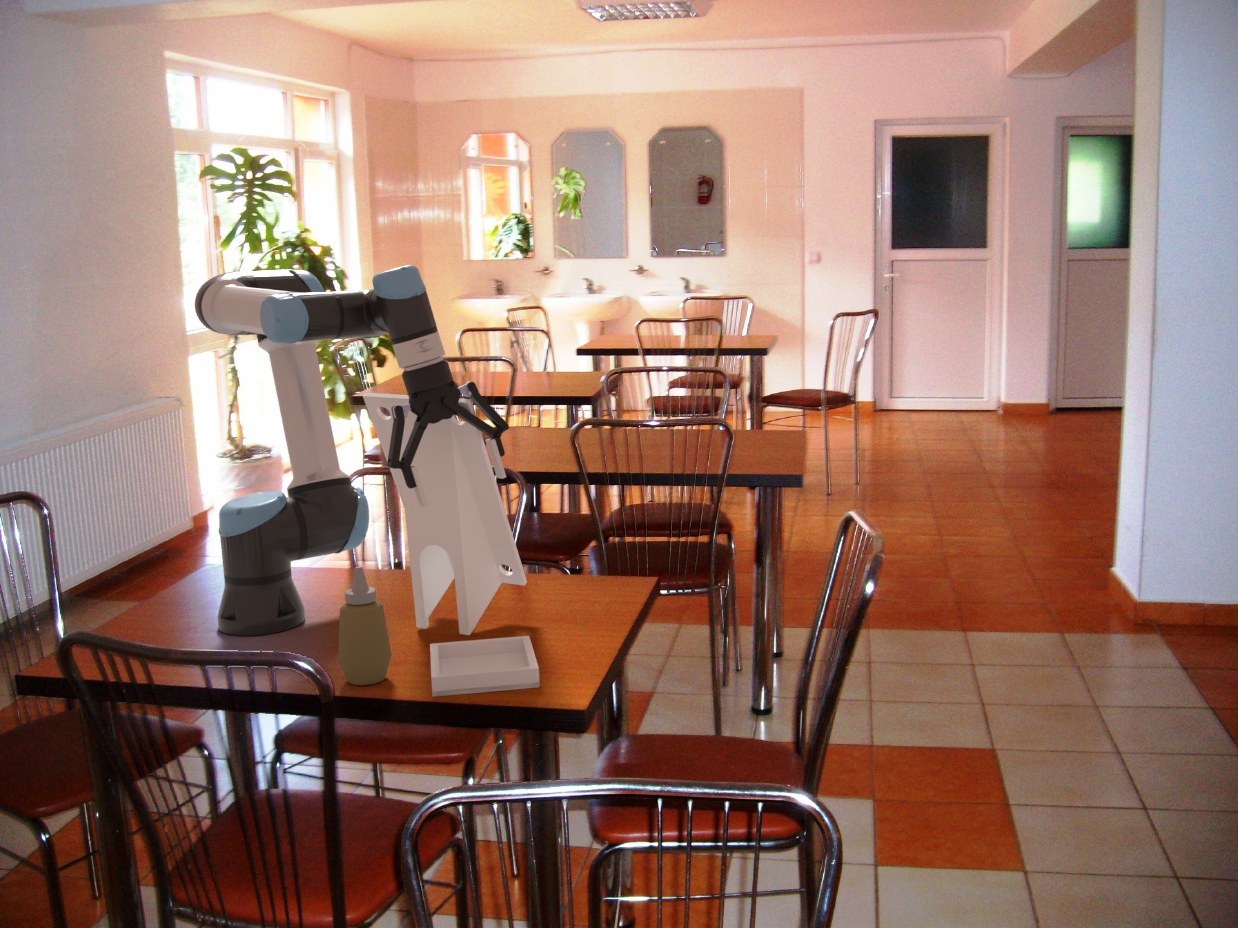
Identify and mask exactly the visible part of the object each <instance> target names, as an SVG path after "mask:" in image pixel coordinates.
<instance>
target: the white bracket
mask: <svg viewBox="0 0 1238 928" xmlns="http://www.w3.org/2000/svg"><path fill="white" fill-rule="evenodd" d="M362 398H363V401H364V404H365V405H366V409H367V412H368V414H369V417H370V419H371V423H372V425H373V427H374V430H375V433H376V435H377V438H378V441H379V444H380V447H381V449H382V452H383V455H384V457H385V460H386V463H387V462H388V455H389V448H390V441H391V434H392V428H393V421H394V420H393V415H392V410H391V408H392V407H393V406H394V405H405V404H409V396H408V394H396V393H395V394H394V393H381V392H379V393H378V392H364V394H363V395H362ZM458 404H459V405H460V406H462V407H463V408H465V409H466V410H467V411H469V412H470V413H472V414H473V415H475V416H476V417H477V414H476V411H475V409H474V406H473V402H472V401H471V399H470V398H461V397H460V399H459V402H458ZM381 407H382V408H385V409H386V410H387V411H389V413H390V415H386V414H384V413H383V412H382V410H381ZM416 418H417V415H415V414H414V413H413V412H411V411H409V412H408V416H407V417H406V418H405V425H404V432H403V439H402V445H401V452H400V459H399V461H400V460H401V458H402V455H403V453H404V450H405V448H406V445H407V443H408V440H409V438H410V435H411V433H412V430H413V428H414V423H415V421H416ZM487 450H488V449H487V446H486V443H485V440H484V438H483V435H482V431H480V430H479V429H477V428H476V427H474V426H473V425H471V424H469V423H468V422H466V421H465V420H463V421H461V420H458V419H457V418H455V415H453V416H452V418H450V419H443V420H441V421H439V422H438V423H435V424H431V423H428V426H427V428H426V429H425V431H424V433H423V436H422V438H421V441H420V443H419V446H418V448H417V451H416V453H415V456H414V459H413V461H412V464H411V466H416V468H417V471H418V474H419V477H420V480H421V483H422V486H423V489H424V492H425V496H426V499H427V502H428V505H429V506H426V507H422V506H420V505H419V502H418V499H417V496H416V493H415V490H414V488H411V489H410V488H408V487H407V485H406V482H405V479H404V476H403V473H402V470H401V469H393V468H389V470H390V473H391V475H392V478H393V482H394V483H395V487H396V489H397V492H398V494H399V498H400V499H401V503H402V505H403V508H404V517H405V524H406V536H407V545H408V556H409V566H410V575H411V584H412V594H413V595H412V596H413V605H414V614H415V616H414V617H415V625H416V628H418V629H424V630H427V629H428V627H429V626H430V621H429V617H430V616H431V614H432V613H433V611H434V610H435V608H436V607H437V606H438V604H439V602H440V600H441V599H442V598H443V596H444V594H445V593H446V592H447V590H448V588H449V587H450V585H451V584H452V583H453V581H454V588H455V596H456V597H455V598H456V609H457V621H458V631H459V635H464V636H470V635H471V634H472V632H473V630H474V629H475V628H476V626H477V624H478V622H480V621H479V620H480V619H481V617H482V616H483V614H484V613H485V611H486V610H487V608H488V606H489V605H490V603H491V601H492V600H493V598H494V597H495V595H496V593H497V592H498V589H499V588H500V586H501V585H502V584H510V585H517V586H526V585H527V582H528V581H527V577H526V574H525V570H524V567H523V564H522V560H521V558H520V555H519V551H518V548H517V545H516V542H515V538H514V535H513V532H512V528H511V526H510V521H509V518H508V514H507V513H506V508H505V505H504V502H503V499H502V497H501V493H500V490H499V487H498V483H497V480H496V477H495V476H496V475H495V473H494V469H493V465H492V462H491V459H490V457H489V454H488V453H489V452H488V451H487ZM503 565H505V566H507V567H509V569H511V571H508V570H506V569H505V568H504V567H503Z"/></svg>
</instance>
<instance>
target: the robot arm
mask: <svg viewBox="0 0 1238 928" xmlns="http://www.w3.org/2000/svg"><path fill="white" fill-rule="evenodd" d="M423 281H424V280H423V279H422V276H421V273H420V271H419V268H418V267H417V266H416V265H414V264H406V265H403V266H399V267H395V268H391V269H389V270H385V271H382V272H378V273H376V274H375V275H373V277H372V282H371V283H372V287H373V288H371V289H369V288H368V289H355V290H337V291H335V290H333V291H325V290H324V288H323V285H322V284H321V282H320V280H319V279H318V278H317V277H316V276H314V274H313V273H312V272H310V271H308V270H305V269H304V270H303V269H289V268H283V269H275V270H274V269H273V270H272V269H271V270H254V271H253V270H252V271H251V270H249V271H246V270H245V271H229V272H223V273H221V274H217V275H214V276H213V277H211V278H209V279H208V280H207V281H205V282H204V283H203V284H202V285H201V286H200V288H199V289H198V291H197V293H196V296H195V300H194V311H195V313H196V316H197V318H198V320H199V322H200V323H201V324H202V325H203V326H204V327H205V328H207V329H208V330H210V331H212V332H214V333H217V334H222V335H226V336H227V335H229V336H252V335H253V336H255V335H256V338H257V342H258V347H259V348H261V349H262V350H263V351H265V352H267V354H268V357H269V362H270V367H271V372H272V376H273V381H274V387H275V391H276V396H277V401H278V406H279V413H280V417H281V422H282V426H283V428H282V429H283V431H284V432H283V433H284V437H285V438H284V439H285V442H286V448H287V453H288V456H289V457H288V458H289V463H290V467H291V472H292V480H291V482H290V483H289V485H288V486H287V488H286V490H287V491H286V492H287V495H288V497H286V494H285V493H284V491H283V492H282V491H279V490H266V491H257V492H253V493H248V494H245V495H241V496H238V497H236V498H233V499H231V500H229V501H227V502H225V503H224V504H223V505H222V507H221V508H220V510H219V513H218V514H219V515H218V520H219V521H218V522H219V525H218V526H219V527H218V534H219V536H220V537H219V538H220V545H221V546H220V547H221V549H220V550H221V557H222V558H221V559H222V567H223V569H222V570H223V580H224V587H223V592H222V596H221V601H220V605H219V609H218V613H217V625H218V626H217V628H218V630H219V631H220V632H222V633H223V634H227V635H232V636H259V635H261V636H262V635H268V634H273V633H279V632H282V631H283V632H284V631H286V630H290V629H292V628H295V627H297V626H300V625H301V624H302V623H304V621H305V620H306V614H305V605H304V603H303V600H302V598H301V596H300V594H299V592H298V590H297V587H296V585H295V581H294V580H293V577H292V575H293V574H292V563H291V562H293V561H299V560H300V561H301V560H306V559H310V558H316V557H321V556H327V555H331V554H332V555H333V554H341V553H342V552H345V551H350V550H354V549H356V548H358V547H360V545H362V543H363V542H364V541H365V538H366V536H367V533H368V530H369V525H370V524H369V523H370V508H369V502H368V499H367V496H366V494H365V492H364V490H363V489H362V488H360V487H357V486H354V485H353V484H352V480H351V476H350V475H349V474H347V473H345V472H344V471H343V470H342V469H340V463H339V458H338V453H337V448H336V443H335V438H334V437H335V436H334V433H333V429H332V423H331V418H330V413H329V408H328V403H327V398H326V393H325V388H324V383H323V378H322V373H321V369H320V368H321V367H320V363H319V358H318V353H317V348H316V345H317V344H318V342H319V341H320V340H321V341H323V340H341V339H352V338H359V339H372V338H374V339H377V338H380V337H381V336H384V335H388V336H389V340H390V343H391V345H392V348H393V352H394V355H395V358H396V362H397V365H398V368H399V369H403V371H402V373H401V377H402V380H403V383H404V386H405V389H406V390H405V391H406V393H407V395H408V396H409V404H405V405H394V406H393V407H392V408H391V410H392V415H393V420H394V421H393V428H392V434H391V441H390V448H389V455H388V462H387V461H386V465H387V467H388V468H389V469H390V468H393V469H401V470H402V473H403V476H404V479H405V482H406V485H407V487H408V488H410V489H411V488H414V490H415V493H416V496H417V499H418V502H419V505H420V506H422V507H426V506H429V505H428V502H427V499H426V496H425V492H424V489H423V486H422V483H421V480H420V477H419V474H418V471H417V468H416V466H411V464H412V461H413V459H414V456H415V453H416V451H417V448H418V446H419V443H420V441H421V438H422V436H423V433H424V431H425V429H426V428H427V426H428V423H431V424H435V423H438V422H439V421H441V420H443V419H450V418H452V416H456V417H458V418H459V419H462V420H463V421H466V422H468V423H469V424H471V425H473V426H474V427H476V428H477V429H479V430H480V431H481V433H484V434H485V435H486V436H488V437H489V438H487V439H485V440H484V442H485V445H486V448H487V450H488V453H489V454H488V455H489V456H490V457H489V458H490V461H491V464H492V468H494V469H493V471H494V472H495V473H494V474H495V476H496V478H497V479H501V480H502V479H505V478H507V474H506V471H505V468H504V464H503V461H502V457H504V456H505V455H506V453H505V449H504V445H503V442H502V438H501V437H502V434H503V433H504V432H505V431H507V430H509V428H510V426H509V424H508V422H507V421H506V420H505V419H504V418H503V417H502V416H501V415H500V414H499V413H498V412H497V411H496V410H495V408H493V406H492V405H491V404H490V403H489V402H488V401H487V400H486V399H485V398H484V397H483V395H482V394H480V392H479V389H478V386H477V384H476V383H475V382H474V381H467V382H464V383H463V385H461V386H458V387H457V385H456V383H455V381H454V377H453V374H452V371H451V367H450V364H449V361H448V360H446V359H443V357H445V355H446V353H445V349H444V345H443V343H442V339H441V336H440V333H439V331H438V326H437V322H436V320H435V317H434V316H435V315H434V312H433V309H432V306H431V303H430V300H429V295H428V292H427V287H426V284H425V283H424V282H423ZM461 394H462V395H463V396H464V397H466V398H468V399H471V402H472V404H474V405H475V406H476V407H477V408H478V409H479V410H480V411H481V413H482V414H484V415H485V417H486V418H487V419H488V420H489V421H490V422H491V424H492V425H494V427H493V426H492V425H490V424H489V423H487V422H485V421H484V420H482V419H481V418H480V417H478V416H477V415H476V416H475V415H473V414H472V413H470V412H469V411H467V410H466V409H465V408H463V407H462V406H460V405H459V404H458V402H459V399H460V398H461V396H462V395H461ZM409 411H411V412H413V413H414V414H415V415H417V418H416V421H415V423H414V428H413V430H412V433H411V435H410V438H409V440H408V443H407V445H406V448H405V450H404V453H403V455H402V458H401V460H400V461H399V459H400V452H401V445H402V439H403V432H404V425H405V418H406V417H407V416H408V412H409Z"/></svg>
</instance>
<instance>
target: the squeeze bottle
mask: <svg viewBox="0 0 1238 928" xmlns="http://www.w3.org/2000/svg"><path fill="white" fill-rule="evenodd" d="M344 600H345V603H343V605H342V606H341V607H340V609H339V624H338V625H339V627H338V629H339V631H338V632H339V633H338V663H339V665H340V668H341V669H342V671H343V675H344V676H345V679H346V681H347V683H349V684H351V685H356V686H367V685H375V684H378V683H380V682H382V681H384V680H385V679H386V677H387V674H388V669H389V666H390V664H391V663H390V662H391V658H392V648H391V644H390V638H389V631H388V626H387V621H386V615H385V610H384V605H383V604H382V602H380V601H378V600H377V590H376V588H375V587H373V586H369V584H368V580H367V577H366V575H365V571H364V568H363V566H356V567H354V571H353V577H352V584H351V587H350V588H349V589H347V590H346V591H345V592H344Z"/></svg>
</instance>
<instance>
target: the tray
mask: <svg viewBox="0 0 1238 928" xmlns="http://www.w3.org/2000/svg"><path fill="white" fill-rule="evenodd" d="M429 647H430V648H429V650H430V651H429V652H430V654H429V655H430V674H431V675H430V677H431V678H430V679H431V695H432V697H433V698H434V697H435V698H436V697H444V696H456V695H467V694H478V693H489V692H500V691H511V690H521V689H522V690H525V689H534V688H535V689H536V688H540V686H541V685H540V684H541V683H540V668H539V663H538V660H537V658H536V655H535V651H534V648H533V644H532V641H531V638H530V635H522V636H509V637H499V638H498V637H497V638H485V639H484V638H483V639H474V640H473V639H471V640H470V639H469V640H460V641H449V642H448V641H447V642H436V643H429Z"/></svg>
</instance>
